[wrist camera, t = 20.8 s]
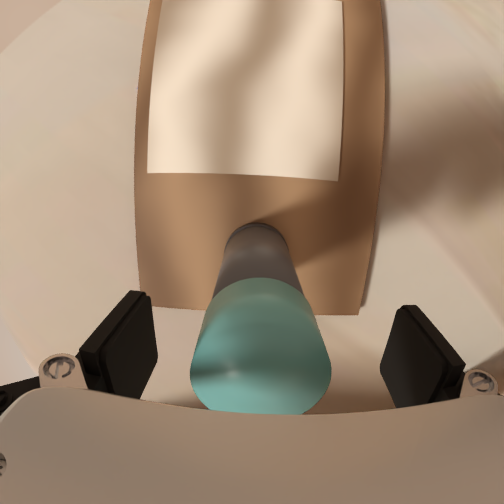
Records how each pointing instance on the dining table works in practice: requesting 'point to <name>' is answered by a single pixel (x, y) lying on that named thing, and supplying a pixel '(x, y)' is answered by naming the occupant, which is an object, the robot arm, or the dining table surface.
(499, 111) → the dining table surface
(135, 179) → the writing board
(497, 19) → the dining table surface
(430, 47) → the dining table surface
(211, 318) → the marker
